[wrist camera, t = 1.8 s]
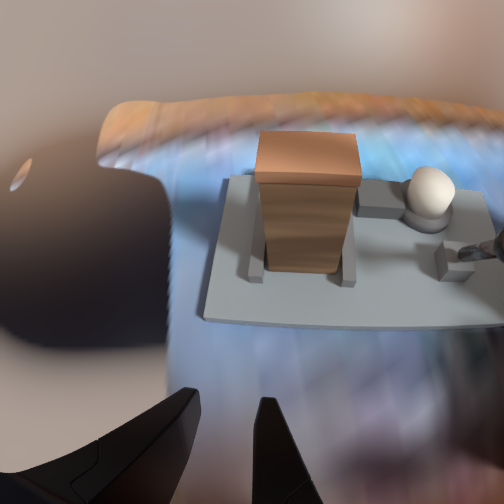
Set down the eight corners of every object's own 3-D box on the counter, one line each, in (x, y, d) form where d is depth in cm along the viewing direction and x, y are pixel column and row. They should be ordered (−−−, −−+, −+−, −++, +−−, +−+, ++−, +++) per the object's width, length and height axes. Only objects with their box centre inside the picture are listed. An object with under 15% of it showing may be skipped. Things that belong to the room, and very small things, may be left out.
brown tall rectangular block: (336, 275, 24) (362, 175, 14) (268, 272, 24) (254, 171, 15) (336, 239, 25) (355, 133, 16) (271, 236, 26) (260, 130, 17)
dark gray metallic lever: (472, 270, 21) (531, 263, 13) (449, 269, 21) (506, 262, 13) (471, 241, 21) (530, 225, 13) (449, 240, 21) (505, 222, 13)
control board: (509, 326, 20) (538, 306, 17) (206, 321, 24) (190, 299, 20) (477, 196, 27) (493, 168, 24) (232, 180, 31) (225, 147, 27)
